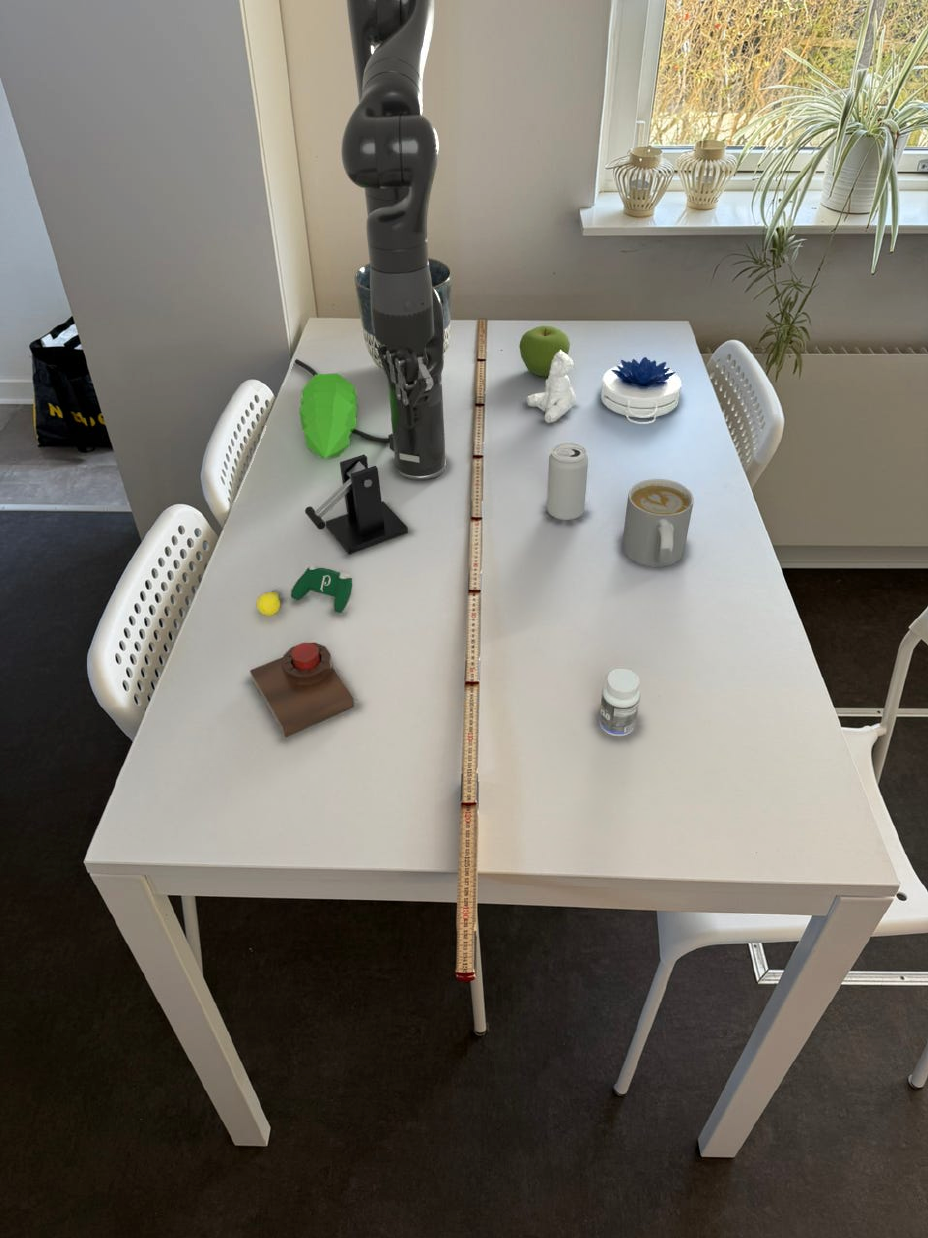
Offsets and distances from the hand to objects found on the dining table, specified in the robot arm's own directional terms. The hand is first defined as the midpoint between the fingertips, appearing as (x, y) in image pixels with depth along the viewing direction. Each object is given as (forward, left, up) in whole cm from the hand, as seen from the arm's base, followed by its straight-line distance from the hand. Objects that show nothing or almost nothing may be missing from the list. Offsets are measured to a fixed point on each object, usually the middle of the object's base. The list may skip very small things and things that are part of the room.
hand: (411, 425), depth 117 cm
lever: (-16, -5, -19) cm, 26 cm away
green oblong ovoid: (-45, +4, -27) cm, 53 cm away
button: (+11, -24, -23) cm, 35 cm away
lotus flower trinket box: (-24, +63, -27) cm, 73 cm away
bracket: (-16, -2, -27) cm, 31 cm away
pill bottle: (+40, +7, -27) cm, 49 cm away
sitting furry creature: (-32, +48, -27) cm, 64 cm away
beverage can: (-2, +29, -27) cm, 40 cm away
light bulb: (-6, -23, -27) cm, 36 cm away
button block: (+13, -26, -27) cm, 40 cm away
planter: (-62, +31, -27) cm, 74 cm away
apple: (-46, +55, -27) cm, 77 cm away
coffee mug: (+15, +34, -27) cm, 46 cm away
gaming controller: (-4, -15, -27) cm, 31 cm away
